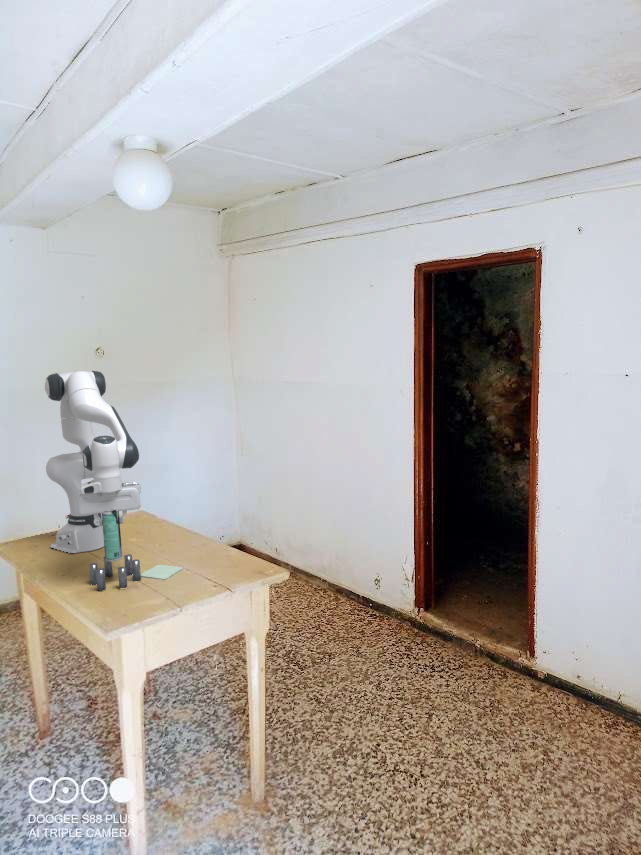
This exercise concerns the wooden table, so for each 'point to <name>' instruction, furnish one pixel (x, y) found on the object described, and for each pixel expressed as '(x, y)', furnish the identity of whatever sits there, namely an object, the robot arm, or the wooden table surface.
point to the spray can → (112, 535)
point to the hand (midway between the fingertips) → (111, 524)
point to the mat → (161, 572)
